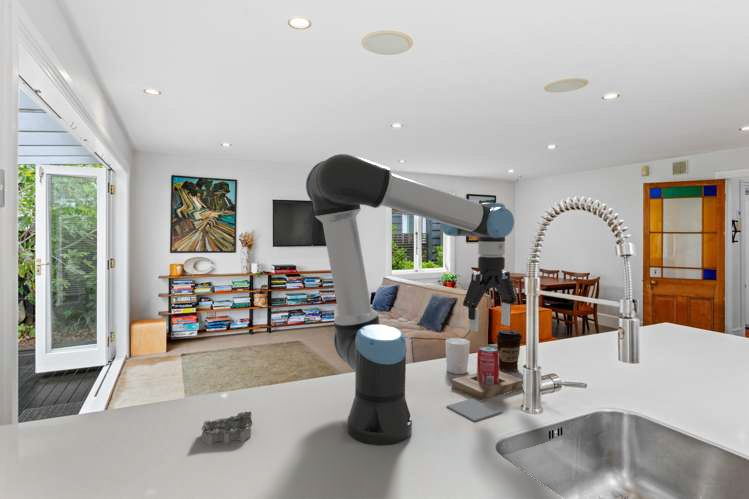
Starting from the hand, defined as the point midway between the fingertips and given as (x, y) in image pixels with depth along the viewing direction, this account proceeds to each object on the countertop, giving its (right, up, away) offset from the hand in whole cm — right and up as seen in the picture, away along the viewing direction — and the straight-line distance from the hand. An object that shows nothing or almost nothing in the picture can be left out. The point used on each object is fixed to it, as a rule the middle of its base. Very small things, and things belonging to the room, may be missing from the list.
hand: (490, 327), depth 127 cm
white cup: (-7, -17, +16) cm, 25 cm away
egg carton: (-67, -19, -30) cm, 76 cm away
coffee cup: (+11, -18, +18) cm, 27 cm away
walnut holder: (-1, -18, +1) cm, 18 cm away
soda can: (-1, -18, +1) cm, 18 cm away
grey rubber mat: (-8, -19, -15) cm, 25 cm away
